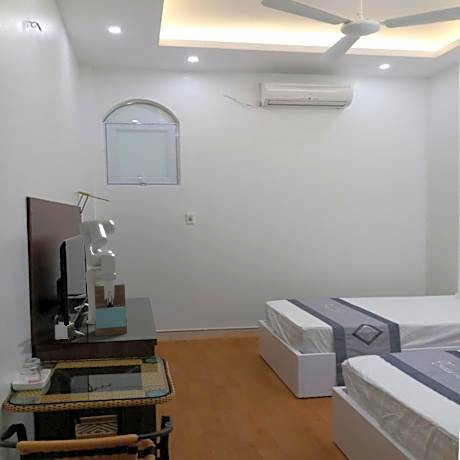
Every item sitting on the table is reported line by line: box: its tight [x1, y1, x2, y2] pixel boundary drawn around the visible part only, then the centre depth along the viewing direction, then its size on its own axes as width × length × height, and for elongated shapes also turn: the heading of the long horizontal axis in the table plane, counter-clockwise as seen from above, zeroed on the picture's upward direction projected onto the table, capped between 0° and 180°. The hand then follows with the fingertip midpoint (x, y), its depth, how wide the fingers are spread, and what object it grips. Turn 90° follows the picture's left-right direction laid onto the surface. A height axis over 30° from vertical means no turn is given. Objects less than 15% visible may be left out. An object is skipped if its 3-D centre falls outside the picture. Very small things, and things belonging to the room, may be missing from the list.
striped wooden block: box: [94, 283, 128, 337], centre depth 265 cm, size 15×16×24 cm
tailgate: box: [95, 306, 127, 329], centre depth 257 cm, size 1×15×10 cm, turn 104°
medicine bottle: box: [54, 314, 76, 340], centre depth 255 cm, size 7×7×12 cm
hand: (110, 312), depth 261 cm, fingers closed
